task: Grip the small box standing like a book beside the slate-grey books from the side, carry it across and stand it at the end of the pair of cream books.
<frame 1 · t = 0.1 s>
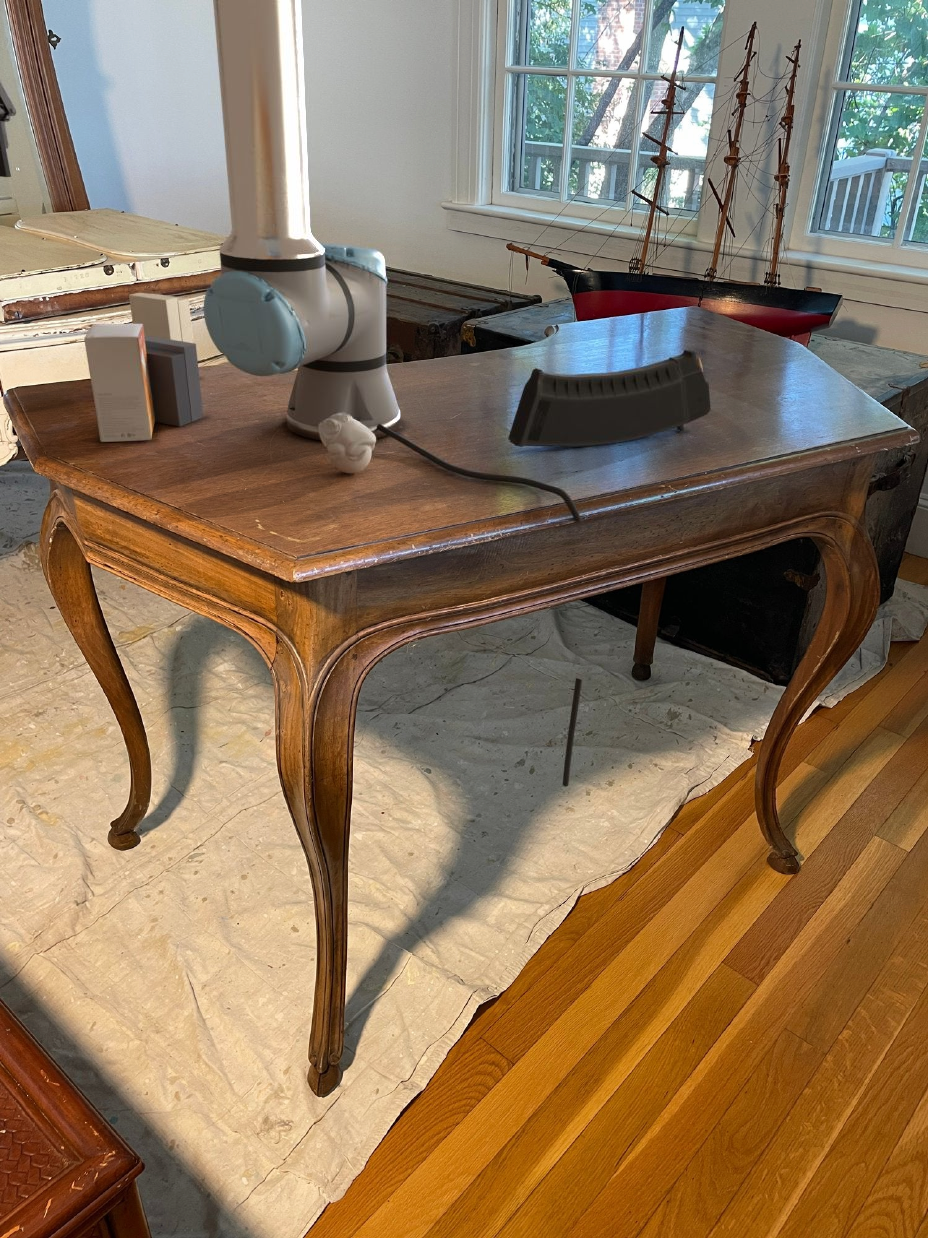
white books: (168, 378, 142), on the table
small box: (129, 433, 120), on the table
plaster face bust: (348, 473, 110), on the table
grey books: (168, 417, 126), on the table
magazine: (611, 441, 124), on the table
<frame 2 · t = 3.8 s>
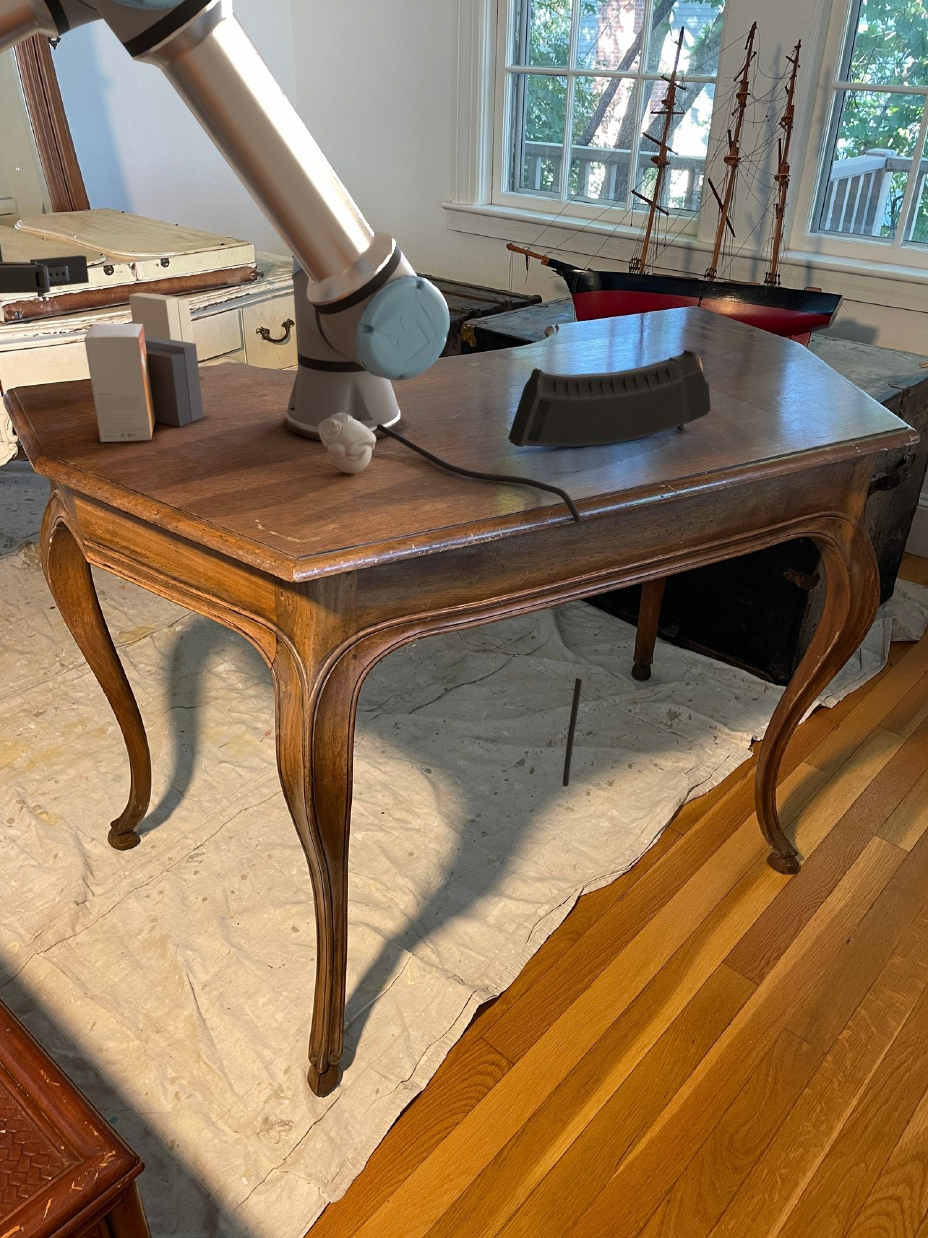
hand: (41, 260, 102), 22 cm above the table, tool horizontal, fingers open, 13 cm apart
nothing on the table moved.
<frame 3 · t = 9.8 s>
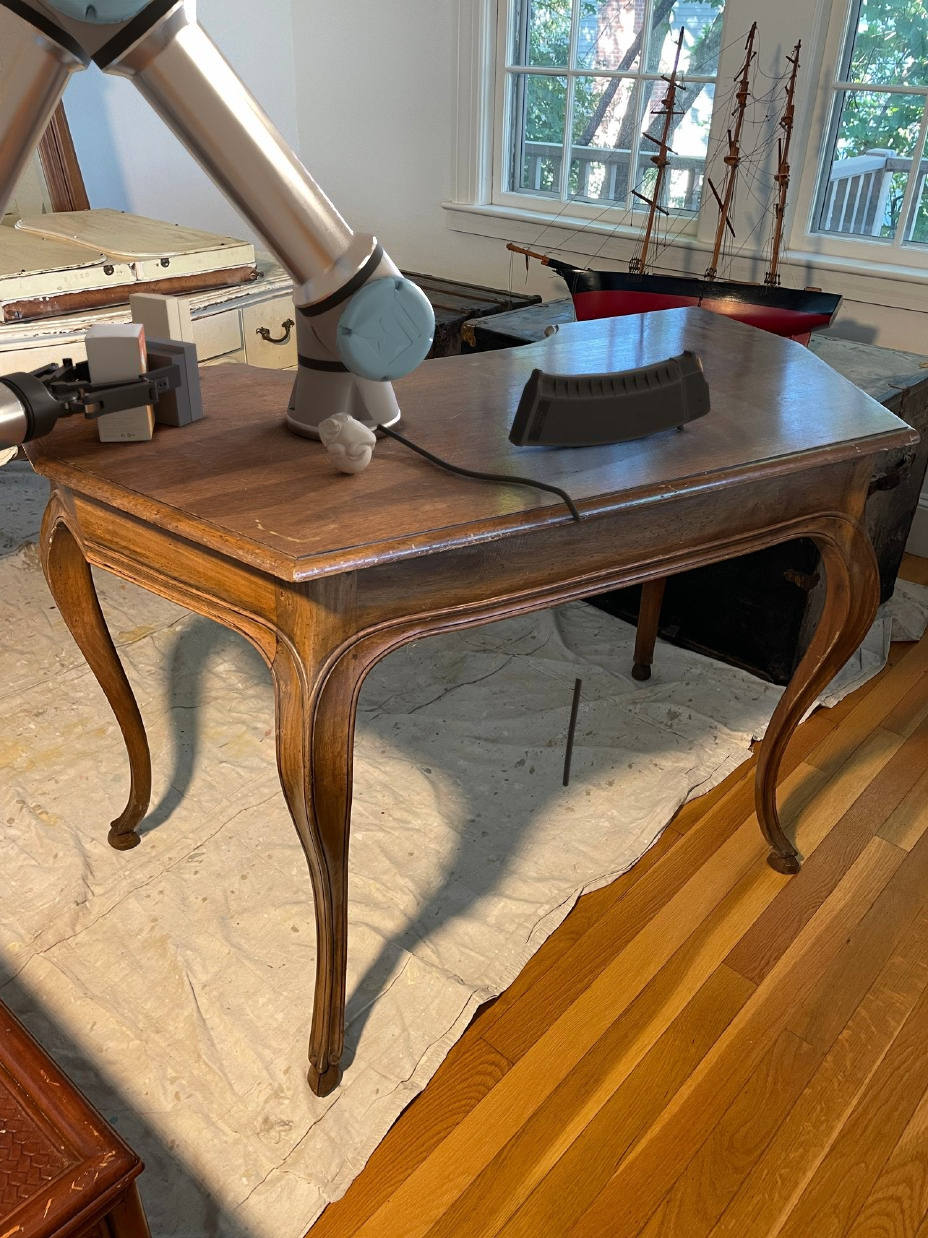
hand: (146, 369, 120), 7 cm above the table, tool horizontal, fingers closed on small box, 10 cm apart
small box: (129, 433, 120), on the table, touching gripper
everything else where it was.
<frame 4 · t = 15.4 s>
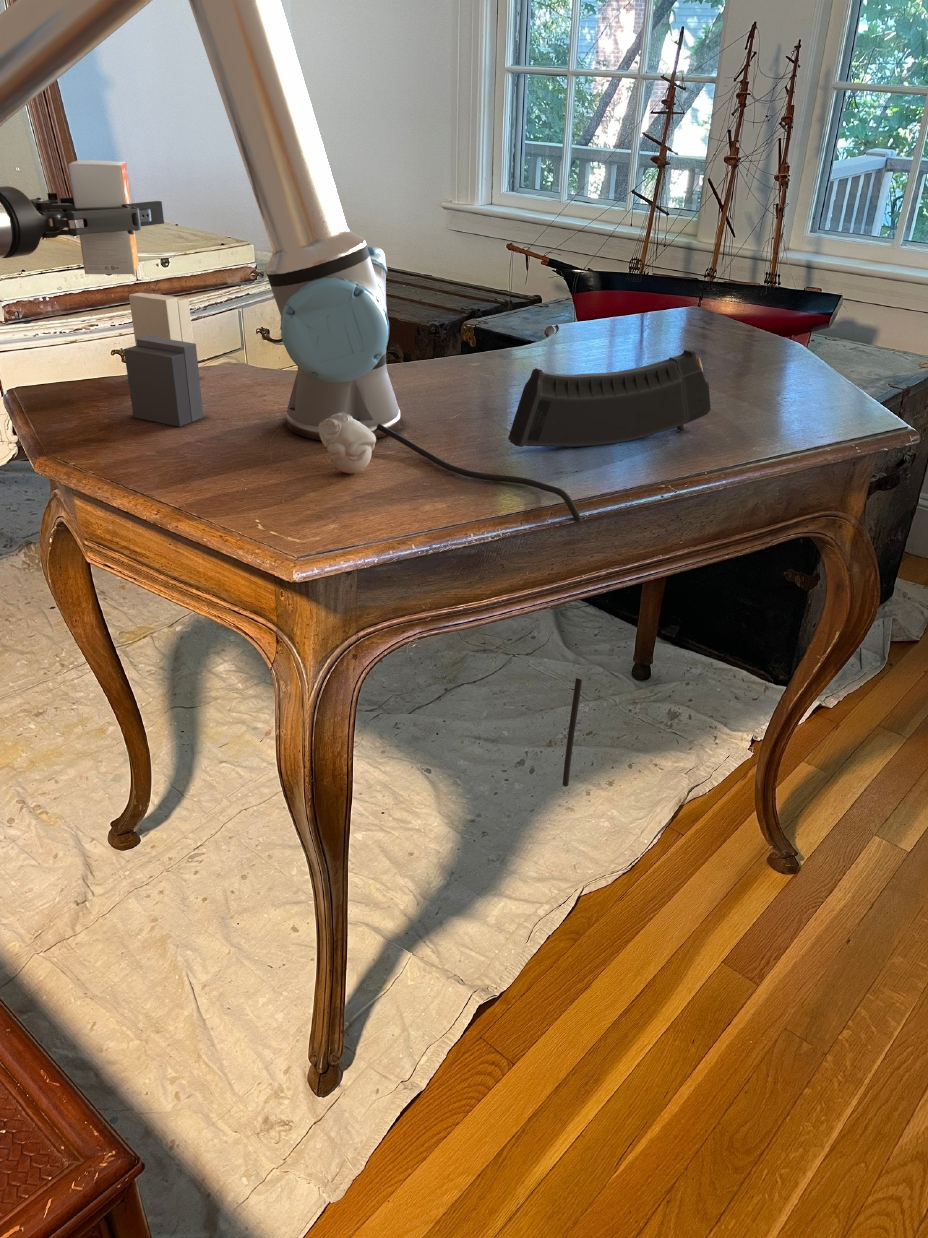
hand: (130, 208, 123), 25 cm above the table, tool horizontal, fingers closed on small box, 10 cm apart
small box: (113, 271, 123), point 18 cm above the table, touching gripper
everything else where it was.
when the fingers open (7 cm above the table, at t = 21.3 s): small box stays where it is, on the table.
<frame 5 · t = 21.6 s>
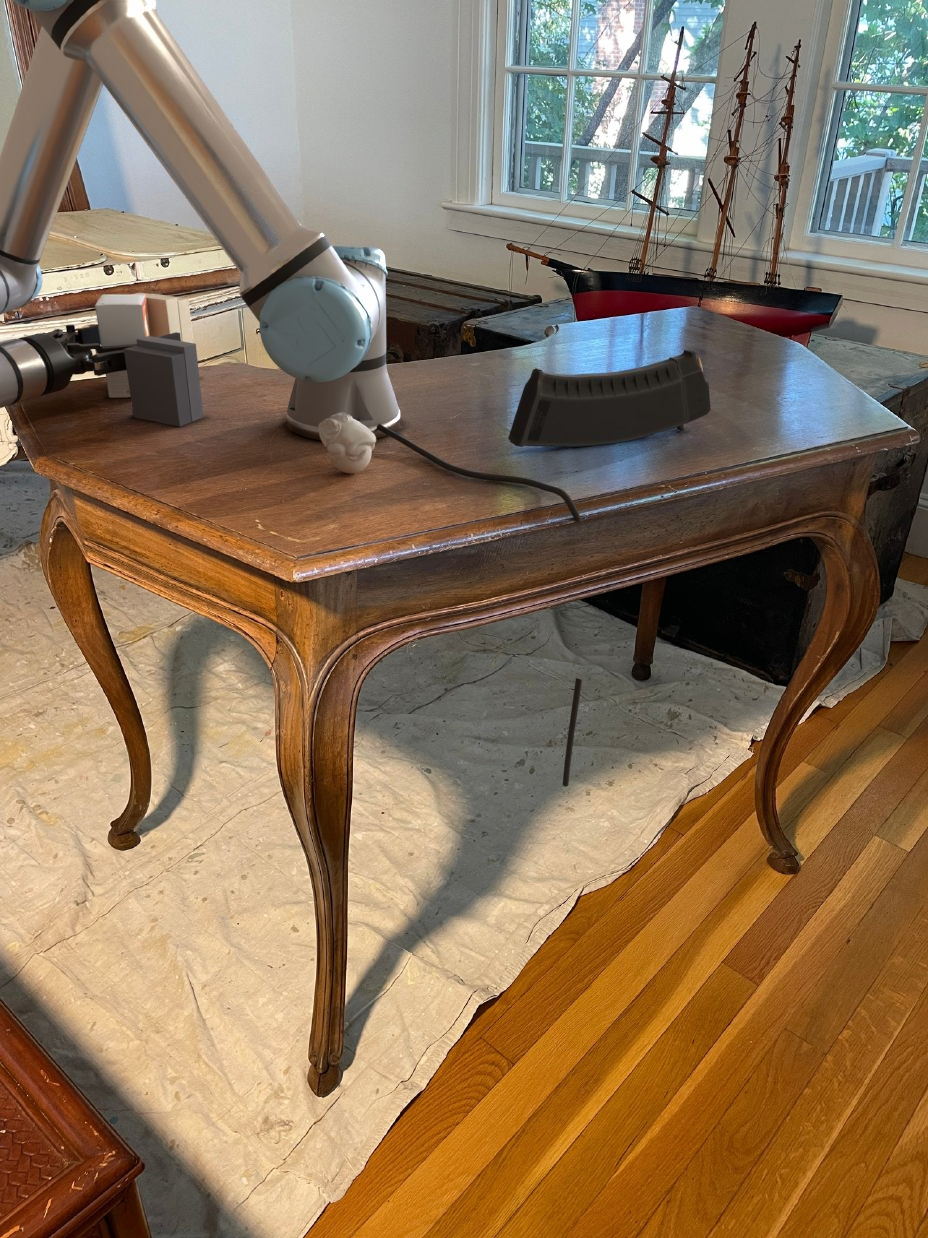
hand: (145, 336, 136), 7 cm above the table, tool horizontal, fingers open, 12 cm apart
small box: (134, 391, 136), on the table
everything else where it was.
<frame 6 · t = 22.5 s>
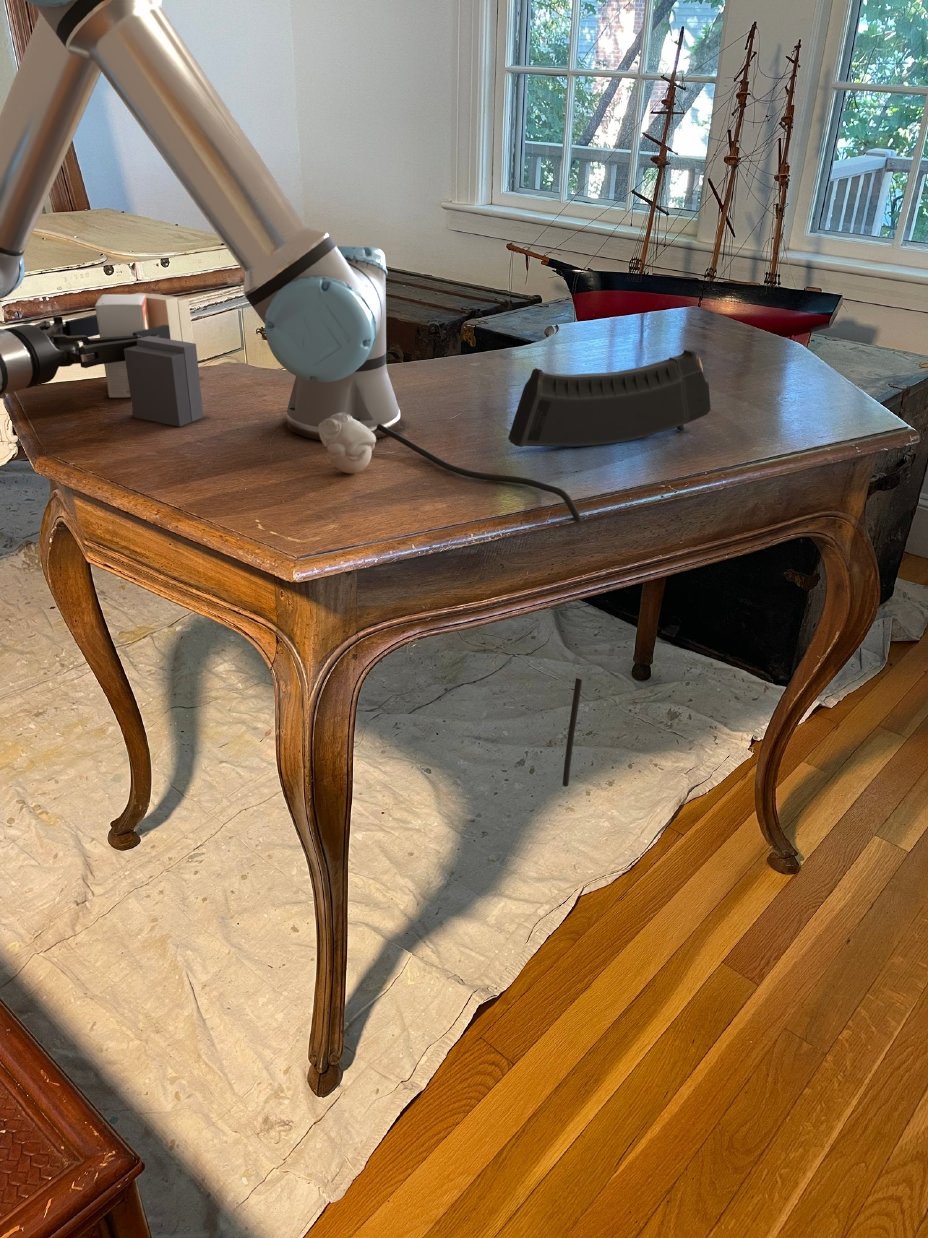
hand: (134, 328, 134), 8 cm above the table, tool horizontal, fingers open, 12 cm apart
nothing on the table moved.
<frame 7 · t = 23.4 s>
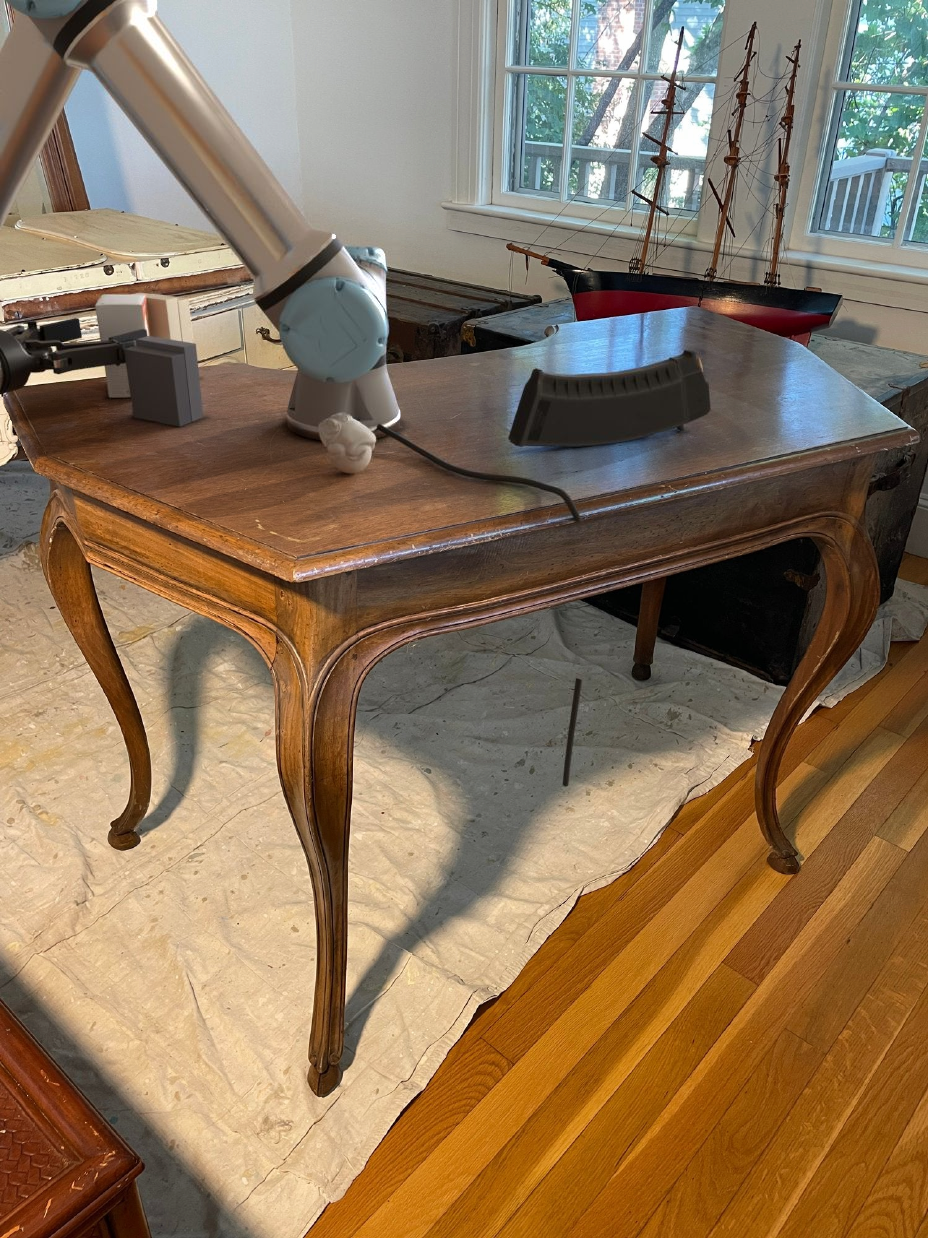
hand: (111, 333, 130), 9 cm above the table, tool horizontal, fingers open, 12 cm apart
nothing on the table moved.
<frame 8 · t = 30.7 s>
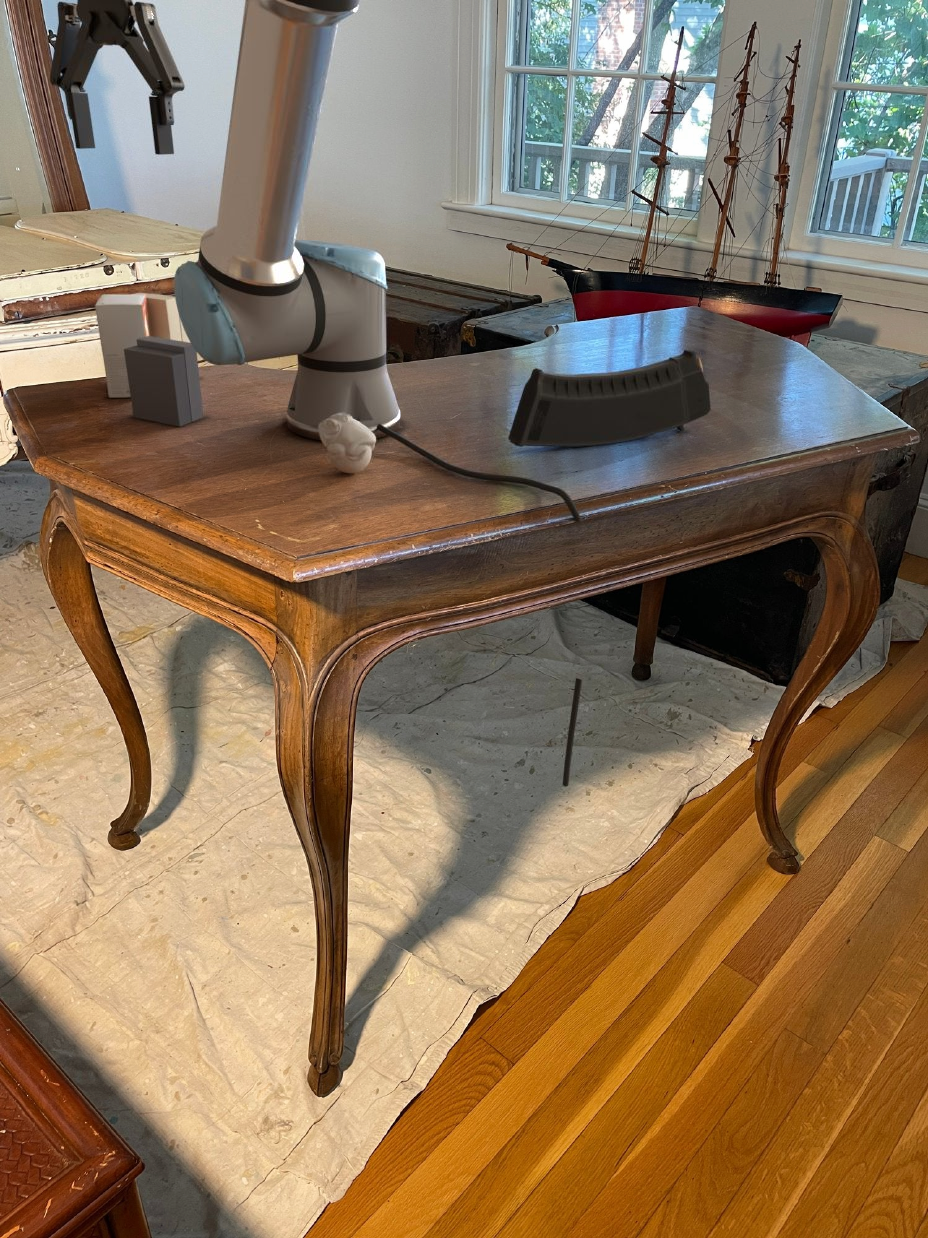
hand: (124, 151, 122), 32 cm above the table, tool pointing down, fingers open, 13 cm apart
nothing on the table moved.
at the end: small box 0.0 cm from the target spot on the table beside the white books, on the table; small box tilted 0°; the gripper is holding nothing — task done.
